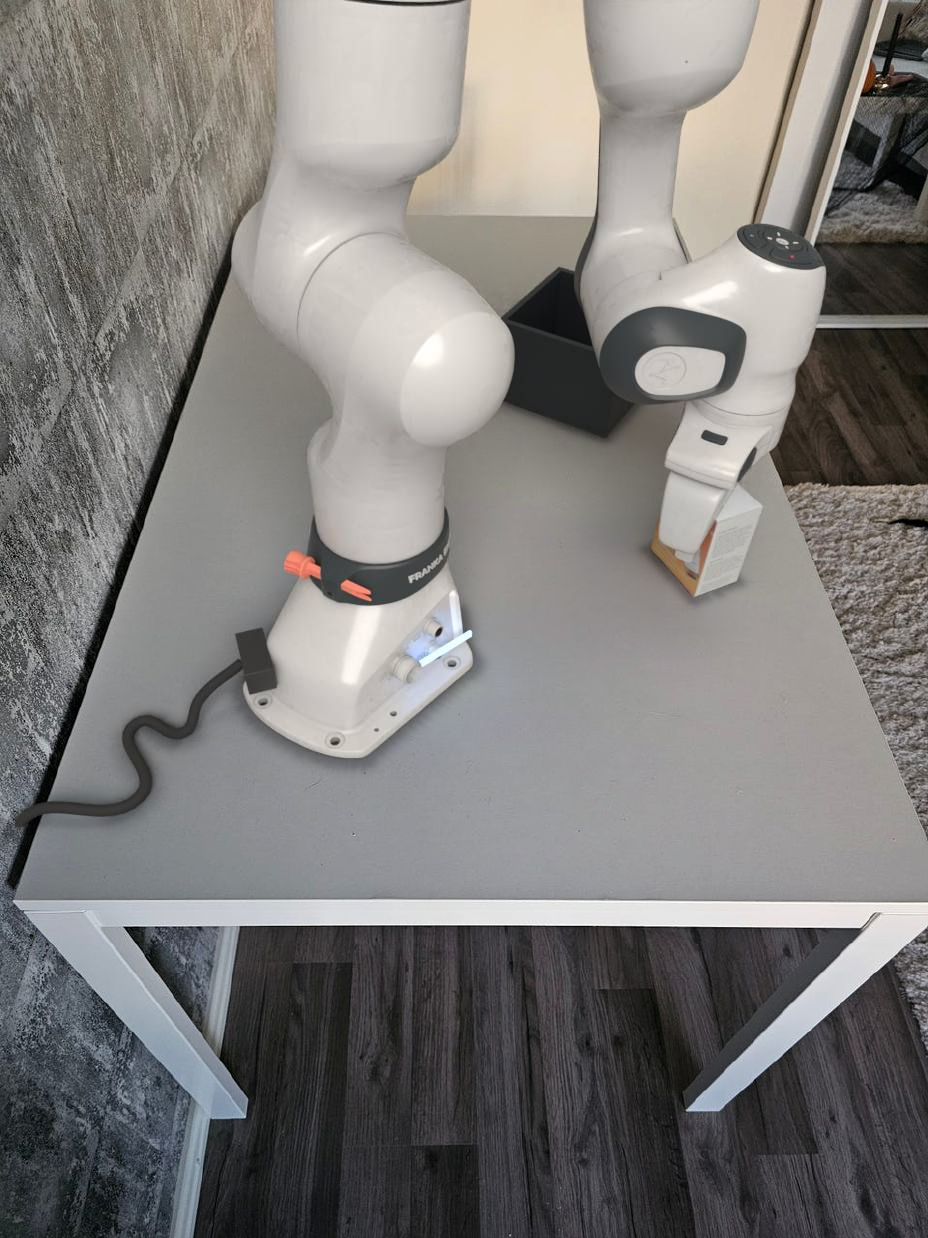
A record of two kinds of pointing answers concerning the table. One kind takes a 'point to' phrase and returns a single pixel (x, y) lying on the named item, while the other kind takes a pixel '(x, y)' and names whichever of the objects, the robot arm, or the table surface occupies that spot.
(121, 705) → the table surface
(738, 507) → the small box
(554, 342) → the trash bin
